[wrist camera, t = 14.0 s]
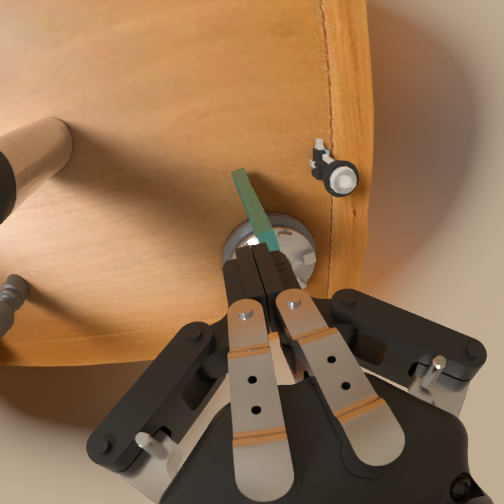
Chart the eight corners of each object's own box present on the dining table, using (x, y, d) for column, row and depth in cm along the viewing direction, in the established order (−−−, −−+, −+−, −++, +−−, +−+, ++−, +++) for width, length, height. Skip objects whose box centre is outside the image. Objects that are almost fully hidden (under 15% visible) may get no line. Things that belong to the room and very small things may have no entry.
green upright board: (317, 276, 56) (357, 350, 41) (245, 304, 56) (265, 385, 41) (285, 153, 41) (340, 204, 26) (190, 188, 42) (188, 261, 27)
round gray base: (230, 297, 58) (232, 304, 56) (213, 223, 48) (214, 229, 47) (312, 279, 59) (315, 285, 58) (311, 204, 50) (315, 209, 48)
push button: (301, 139, 43) (327, 155, 35) (332, 136, 43) (363, 152, 35) (303, 178, 47) (327, 202, 38) (333, 174, 47) (361, 197, 39)
